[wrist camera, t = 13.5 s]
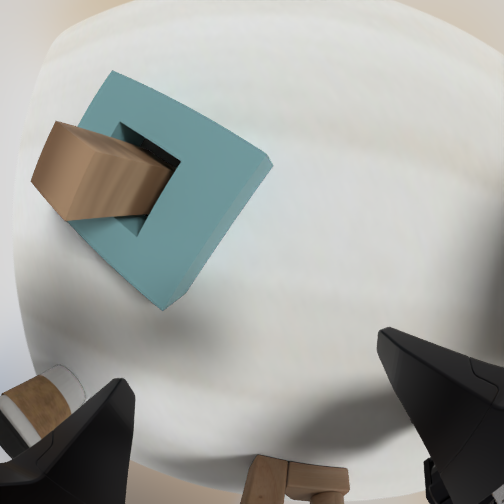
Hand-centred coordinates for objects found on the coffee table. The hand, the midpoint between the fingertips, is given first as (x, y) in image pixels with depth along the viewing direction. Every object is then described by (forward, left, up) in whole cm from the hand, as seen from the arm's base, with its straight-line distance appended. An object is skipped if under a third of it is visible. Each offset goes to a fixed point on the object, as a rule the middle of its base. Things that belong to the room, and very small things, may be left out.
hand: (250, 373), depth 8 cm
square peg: (+11, -6, -11) cm, 17 cm away
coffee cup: (+22, +20, -11) cm, 32 cm away
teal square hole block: (+10, -6, -11) cm, 17 cm away
